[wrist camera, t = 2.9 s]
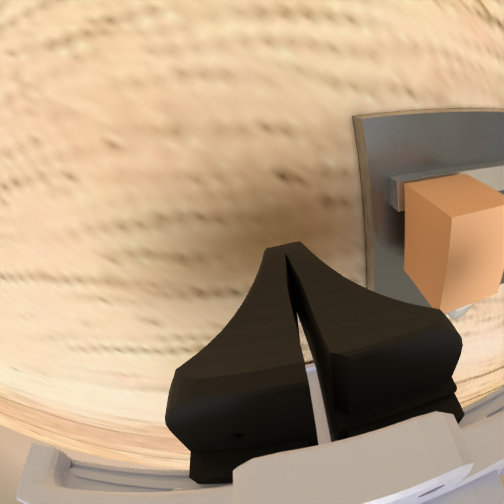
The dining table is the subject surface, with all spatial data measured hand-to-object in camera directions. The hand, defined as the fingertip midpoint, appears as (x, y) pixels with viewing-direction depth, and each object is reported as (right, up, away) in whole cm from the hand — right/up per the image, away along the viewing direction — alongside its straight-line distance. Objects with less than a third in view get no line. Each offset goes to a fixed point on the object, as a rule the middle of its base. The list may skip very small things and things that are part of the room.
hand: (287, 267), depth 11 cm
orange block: (+7, +2, +2) cm, 8 cm away
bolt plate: (+16, +4, +3) cm, 17 cm away
